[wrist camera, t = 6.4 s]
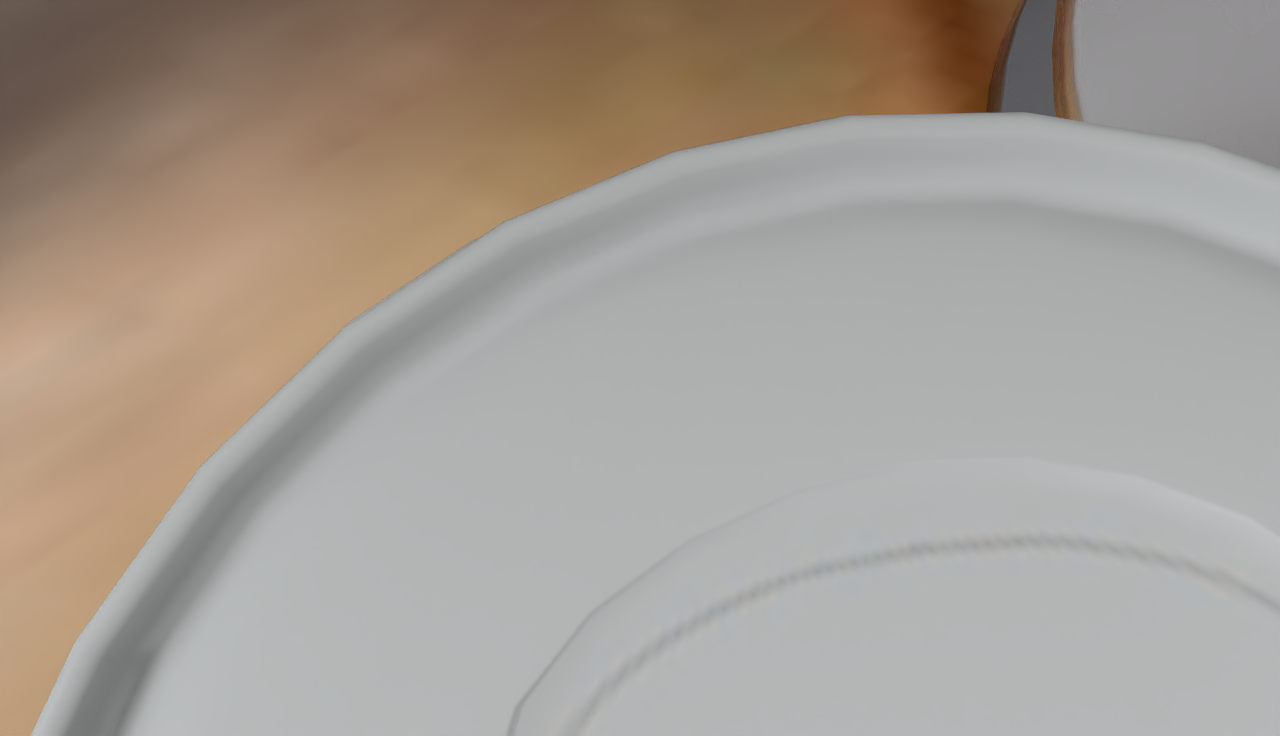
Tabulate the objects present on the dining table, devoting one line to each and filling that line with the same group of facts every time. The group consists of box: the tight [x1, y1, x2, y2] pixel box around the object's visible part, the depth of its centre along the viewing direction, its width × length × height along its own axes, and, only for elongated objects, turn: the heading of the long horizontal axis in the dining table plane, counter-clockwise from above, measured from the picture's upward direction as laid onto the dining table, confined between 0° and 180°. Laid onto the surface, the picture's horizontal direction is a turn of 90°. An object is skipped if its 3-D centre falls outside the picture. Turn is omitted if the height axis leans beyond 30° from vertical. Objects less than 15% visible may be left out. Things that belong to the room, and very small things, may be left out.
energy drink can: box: [31, 112, 1280, 736], centre depth 10 cm, size 6×6×15 cm
